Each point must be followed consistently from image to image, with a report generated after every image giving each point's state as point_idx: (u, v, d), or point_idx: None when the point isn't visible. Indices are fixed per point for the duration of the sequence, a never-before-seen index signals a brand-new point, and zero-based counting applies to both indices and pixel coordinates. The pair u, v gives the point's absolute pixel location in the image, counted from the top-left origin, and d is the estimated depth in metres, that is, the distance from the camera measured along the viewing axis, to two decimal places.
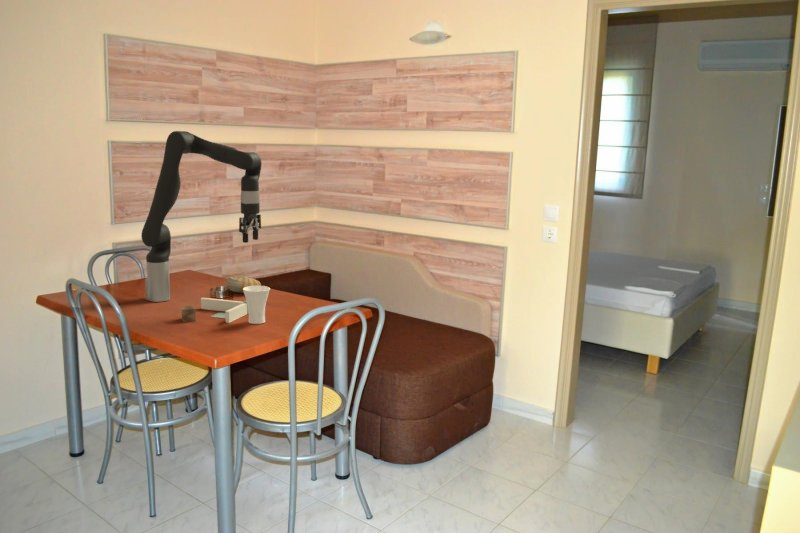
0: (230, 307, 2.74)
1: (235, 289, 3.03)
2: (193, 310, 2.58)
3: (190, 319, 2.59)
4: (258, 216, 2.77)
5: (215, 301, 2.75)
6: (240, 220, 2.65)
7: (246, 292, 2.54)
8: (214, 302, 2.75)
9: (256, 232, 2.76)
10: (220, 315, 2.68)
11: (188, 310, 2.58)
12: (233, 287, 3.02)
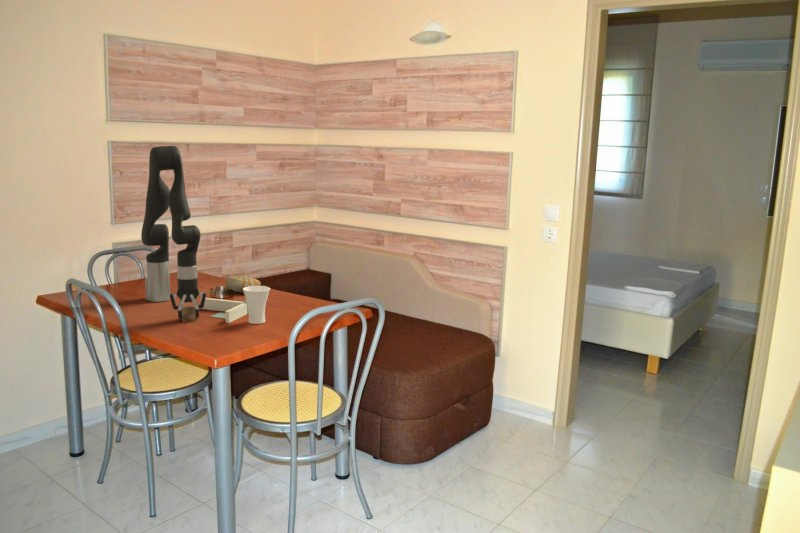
0: (230, 307, 2.74)
1: (236, 288, 3.04)
2: (193, 310, 2.58)
3: (190, 319, 2.59)
4: None
5: (215, 301, 2.75)
6: (205, 296, 2.61)
7: (246, 292, 2.54)
8: (214, 302, 2.75)
9: (181, 311, 2.60)
10: (220, 315, 2.68)
11: (188, 310, 2.58)
12: (234, 286, 3.03)
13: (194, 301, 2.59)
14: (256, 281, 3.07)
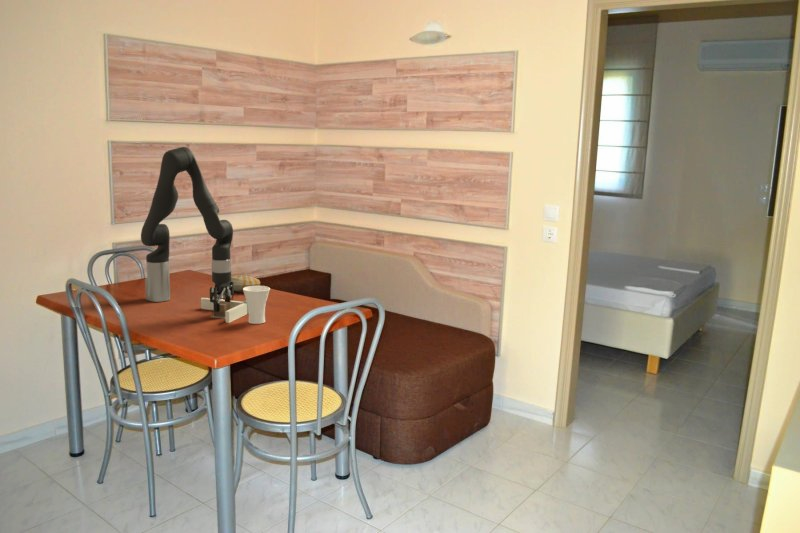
0: None
1: (236, 288, 3.05)
2: (230, 304, 2.68)
3: None
4: None
5: None
6: None
7: (246, 292, 2.54)
8: None
9: None
10: None
11: (227, 305, 2.66)
12: (234, 286, 3.04)
13: (229, 291, 2.69)
14: (256, 280, 3.09)
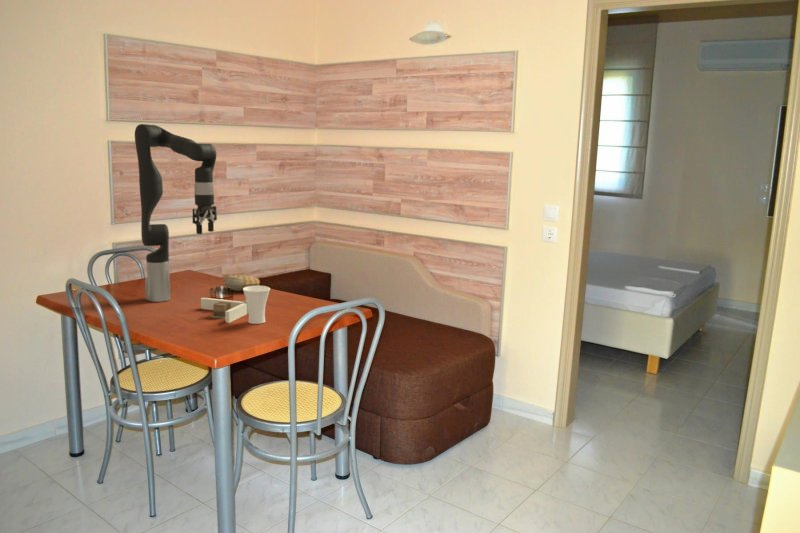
0: None
1: (236, 287, 3.06)
2: (230, 304, 2.68)
3: None
4: None
5: (215, 301, 2.75)
6: None
7: (246, 292, 2.54)
8: (214, 302, 2.75)
9: None
10: None
11: (227, 305, 2.66)
12: (234, 285, 3.06)
13: (212, 215, 2.74)
14: (256, 279, 3.11)
